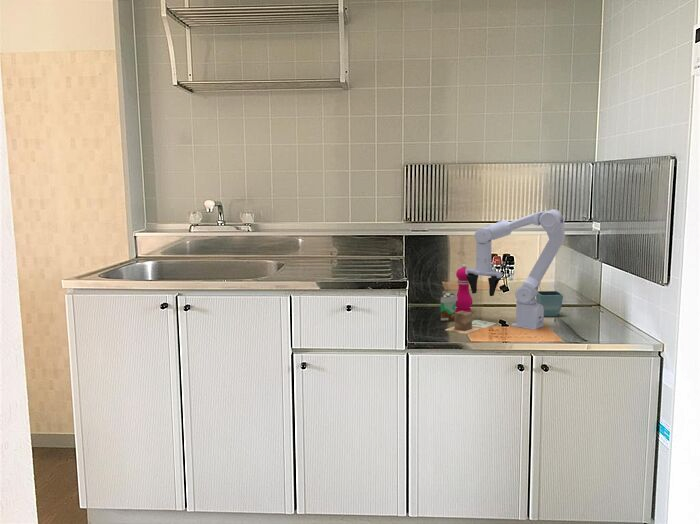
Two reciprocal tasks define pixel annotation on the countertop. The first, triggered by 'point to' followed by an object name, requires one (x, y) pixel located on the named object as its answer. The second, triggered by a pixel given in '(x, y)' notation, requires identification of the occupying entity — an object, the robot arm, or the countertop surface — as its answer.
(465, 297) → the pepper mill
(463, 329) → the block
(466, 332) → the coaster
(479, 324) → the tile
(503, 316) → the countertop surface
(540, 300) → the flower pot
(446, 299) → the food container
